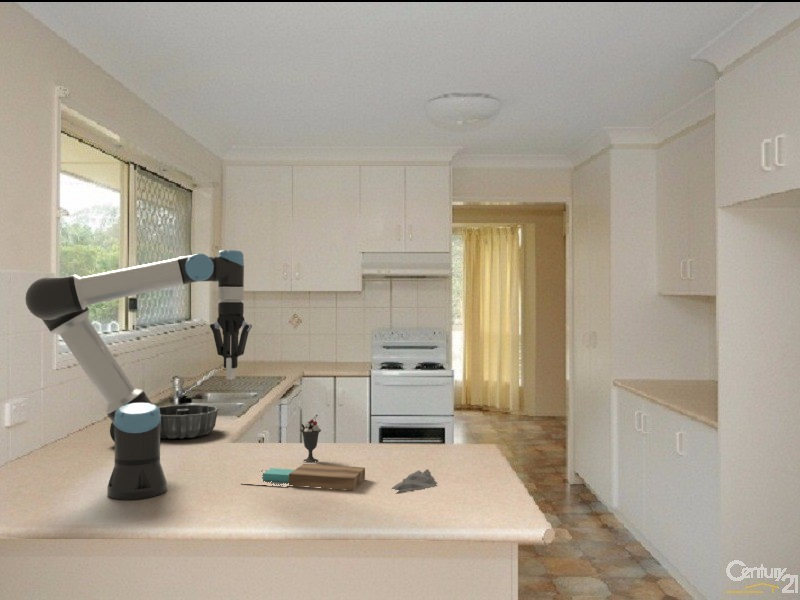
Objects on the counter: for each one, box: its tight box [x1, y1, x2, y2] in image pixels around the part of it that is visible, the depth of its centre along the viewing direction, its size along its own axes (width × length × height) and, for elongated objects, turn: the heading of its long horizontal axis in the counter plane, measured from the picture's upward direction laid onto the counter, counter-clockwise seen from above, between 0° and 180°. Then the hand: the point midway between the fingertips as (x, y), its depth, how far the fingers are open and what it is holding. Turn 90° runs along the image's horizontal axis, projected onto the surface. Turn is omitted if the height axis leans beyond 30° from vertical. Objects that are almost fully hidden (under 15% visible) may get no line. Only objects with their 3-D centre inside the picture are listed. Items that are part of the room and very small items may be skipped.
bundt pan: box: [158, 404, 219, 440], centre depth 259 cm, size 26×26×10 cm
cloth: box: [391, 469, 438, 494], centre depth 197 cm, size 26×14×2 cm, turn 146°
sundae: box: [299, 414, 322, 463], centre depth 221 cm, size 7×7×15 cm
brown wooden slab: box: [289, 463, 366, 491], centre depth 196 cm, size 12×19×4 cm, turn 78°
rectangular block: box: [263, 467, 295, 482], centre depth 199 cm, size 6×9×2 cm, turn 78°
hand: (230, 378), depth 206 cm, fingers closed
